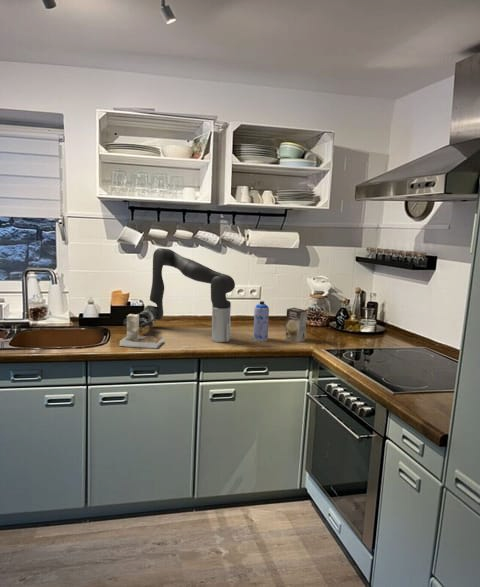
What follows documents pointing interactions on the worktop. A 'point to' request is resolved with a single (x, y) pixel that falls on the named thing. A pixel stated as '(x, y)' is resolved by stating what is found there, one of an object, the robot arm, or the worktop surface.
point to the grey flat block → (143, 342)
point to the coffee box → (296, 324)
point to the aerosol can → (261, 322)
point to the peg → (133, 327)
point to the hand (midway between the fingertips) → (134, 325)
